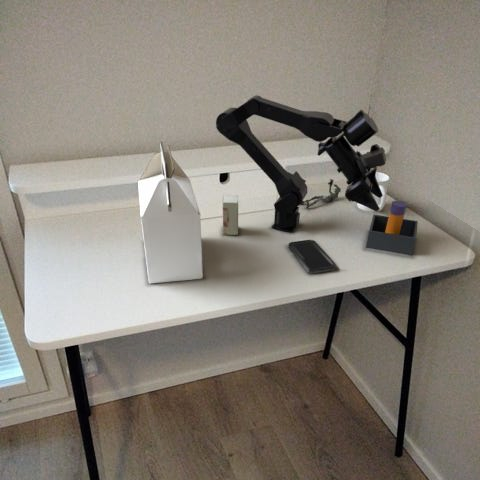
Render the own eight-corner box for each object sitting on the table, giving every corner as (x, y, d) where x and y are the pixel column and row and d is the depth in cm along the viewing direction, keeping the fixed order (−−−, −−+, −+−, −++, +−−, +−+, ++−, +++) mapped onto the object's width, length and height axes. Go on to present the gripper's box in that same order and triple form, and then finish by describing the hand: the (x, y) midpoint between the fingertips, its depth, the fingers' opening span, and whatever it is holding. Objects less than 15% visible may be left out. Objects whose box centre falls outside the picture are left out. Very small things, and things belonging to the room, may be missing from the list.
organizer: (365, 249, 128) (369, 231, 125) (369, 231, 137) (373, 214, 133) (411, 257, 125) (416, 238, 122) (412, 238, 134) (417, 220, 130)
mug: (392, 217, 145) (400, 185, 138) (368, 219, 143) (374, 187, 137) (375, 201, 154) (382, 170, 148) (352, 203, 152) (357, 172, 146)
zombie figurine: (300, 183, 147) (337, 176, 154) (298, 204, 151) (334, 196, 158) (311, 189, 144) (348, 181, 150) (308, 210, 148) (345, 201, 154)
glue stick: (381, 243, 130) (390, 204, 123) (384, 237, 133) (393, 199, 126) (395, 246, 129) (405, 207, 121) (398, 240, 131) (408, 202, 124)
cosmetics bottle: (223, 226, 137) (223, 194, 131) (238, 227, 137) (238, 194, 131) (222, 235, 133) (222, 201, 127) (237, 235, 133) (238, 202, 127)
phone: (313, 239, 130) (337, 266, 119) (312, 242, 131) (336, 269, 119) (286, 242, 128) (308, 270, 117) (286, 246, 129) (308, 274, 117)
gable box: (203, 279, 115) (198, 167, 98) (148, 284, 113) (134, 170, 95) (192, 237, 132) (187, 135, 115) (145, 241, 130) (132, 138, 113)
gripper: (366, 148, 109) (404, 199, 113) (374, 127, 123) (408, 173, 127) (329, 176, 116) (366, 224, 120) (340, 153, 130) (373, 196, 134)
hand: (379, 203), depth 125 cm, fingers open, 9 cm apart
